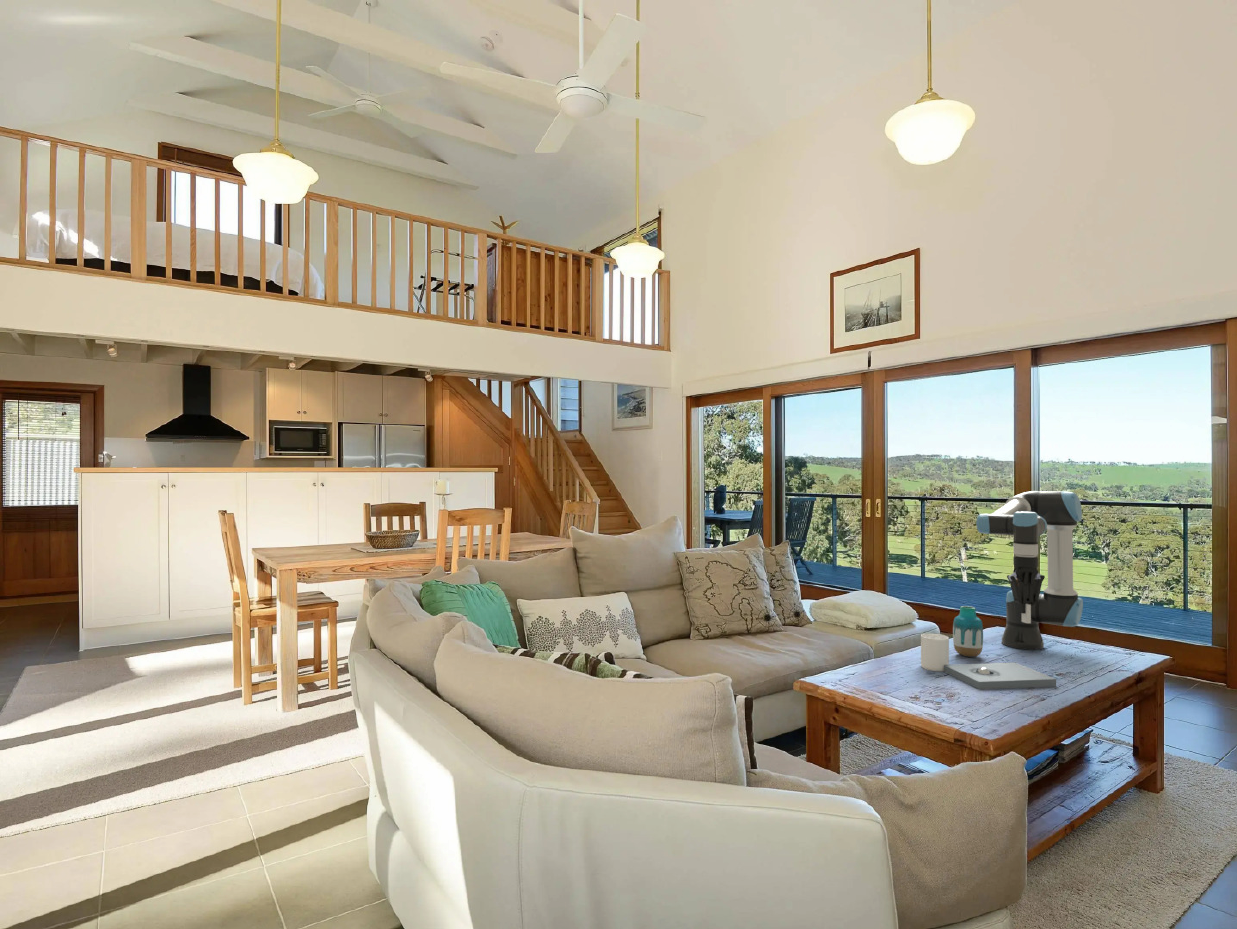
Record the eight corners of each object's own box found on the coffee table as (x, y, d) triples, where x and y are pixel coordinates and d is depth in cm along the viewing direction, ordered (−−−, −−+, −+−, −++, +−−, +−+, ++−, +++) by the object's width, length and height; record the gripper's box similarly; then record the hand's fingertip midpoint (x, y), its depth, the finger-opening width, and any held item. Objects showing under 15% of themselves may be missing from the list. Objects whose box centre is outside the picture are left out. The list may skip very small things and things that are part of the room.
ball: (987, 669, 241) (978, 664, 241) (994, 673, 237) (985, 668, 237) (981, 678, 241) (972, 673, 241) (989, 683, 237) (980, 678, 237)
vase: (947, 654, 272) (946, 606, 272) (965, 651, 276) (965, 603, 276) (970, 661, 262) (970, 610, 262) (989, 657, 267) (989, 608, 267)
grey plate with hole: (1015, 669, 251) (1015, 662, 251) (1056, 686, 231) (1056, 679, 231) (943, 671, 248) (943, 664, 248) (979, 689, 228) (979, 681, 228)
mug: (937, 673, 246) (937, 640, 246) (909, 665, 257) (909, 633, 257) (954, 669, 251) (954, 637, 251) (926, 661, 261) (926, 631, 261)
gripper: (1035, 553, 245) (1035, 619, 245) (1001, 554, 244) (1001, 620, 244) (1050, 556, 238) (1051, 624, 238) (1015, 557, 237) (1016, 625, 237)
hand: (1026, 622), depth 241 cm, fingers closed
